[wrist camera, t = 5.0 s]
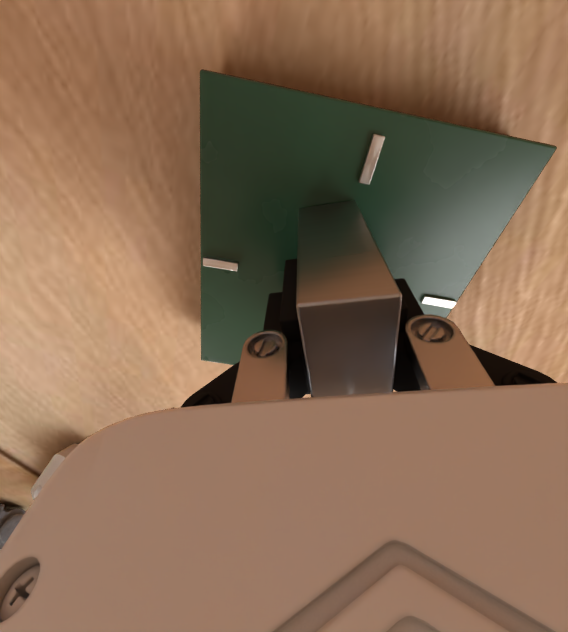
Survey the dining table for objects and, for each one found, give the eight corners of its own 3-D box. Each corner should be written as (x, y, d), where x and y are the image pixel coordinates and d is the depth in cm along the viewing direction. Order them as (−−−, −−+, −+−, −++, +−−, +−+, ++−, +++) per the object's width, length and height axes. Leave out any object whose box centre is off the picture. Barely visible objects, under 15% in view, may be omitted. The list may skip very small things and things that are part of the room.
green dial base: (218, 73, 10) (197, 68, 8) (512, 136, 11) (562, 147, 9) (212, 330, 17) (199, 362, 15) (388, 358, 18) (400, 392, 16)
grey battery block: (298, 207, 10) (295, 312, 5) (355, 199, 10) (407, 301, 5) (315, 342, 14) (323, 474, 9) (357, 338, 14) (388, 473, 9)
